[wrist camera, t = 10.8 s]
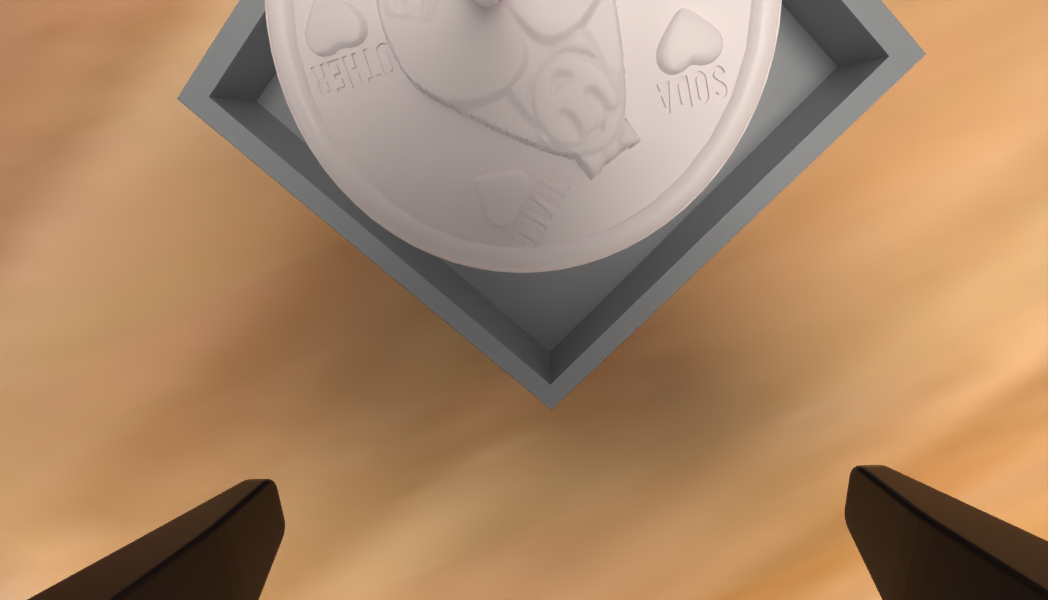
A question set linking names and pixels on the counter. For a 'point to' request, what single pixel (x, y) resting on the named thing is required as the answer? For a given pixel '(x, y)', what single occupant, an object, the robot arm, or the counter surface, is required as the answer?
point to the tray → (606, 284)
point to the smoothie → (522, 115)
